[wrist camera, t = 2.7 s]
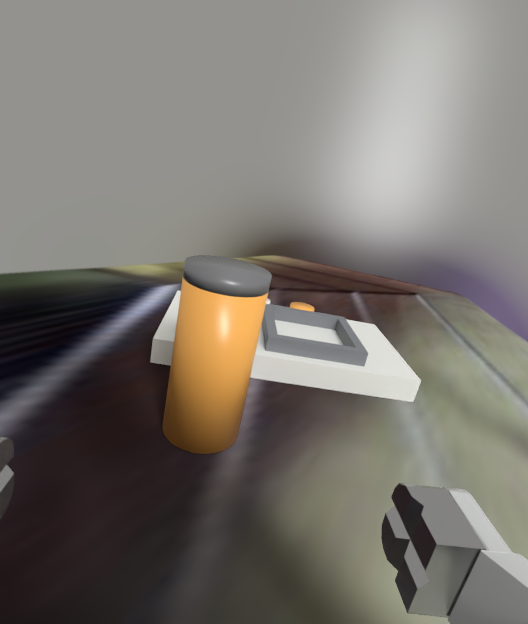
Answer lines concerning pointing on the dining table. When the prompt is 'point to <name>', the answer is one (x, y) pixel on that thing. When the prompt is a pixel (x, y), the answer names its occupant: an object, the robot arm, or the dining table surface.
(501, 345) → the dining table surface
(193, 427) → the orange capped cylinder
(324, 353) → the board
